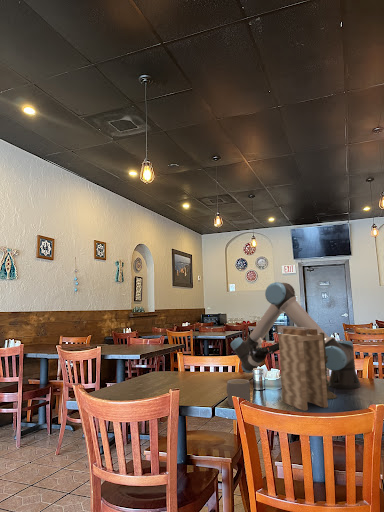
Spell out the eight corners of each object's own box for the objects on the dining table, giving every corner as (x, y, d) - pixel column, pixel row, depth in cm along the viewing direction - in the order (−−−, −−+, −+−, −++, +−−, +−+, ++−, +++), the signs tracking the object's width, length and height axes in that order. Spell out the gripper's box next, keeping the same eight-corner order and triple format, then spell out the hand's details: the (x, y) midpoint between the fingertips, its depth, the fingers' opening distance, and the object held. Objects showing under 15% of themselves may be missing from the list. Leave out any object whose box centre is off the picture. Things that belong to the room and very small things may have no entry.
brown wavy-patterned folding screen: (282, 401, 175) (278, 328, 179) (305, 398, 179) (300, 327, 183) (303, 410, 160) (298, 330, 164) (328, 407, 164) (322, 329, 167)
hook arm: (275, 332, 189) (274, 325, 190) (281, 332, 190) (281, 324, 191) (302, 335, 168) (302, 327, 168) (310, 335, 169) (309, 326, 169)
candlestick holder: (320, 393, 187) (316, 330, 191) (339, 396, 181) (334, 330, 185) (313, 397, 180) (308, 331, 184) (333, 400, 174) (327, 332, 178)
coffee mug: (254, 405, 170) (253, 382, 171) (234, 408, 167) (232, 384, 168) (241, 399, 183) (239, 377, 184) (221, 401, 179) (220, 379, 181)
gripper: (279, 361, 212) (297, 344, 196) (237, 365, 204) (253, 347, 188) (275, 348, 216) (292, 330, 200) (234, 351, 208) (248, 333, 192)
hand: (273, 339), depth 194 cm, fingers open, 13 cm apart
